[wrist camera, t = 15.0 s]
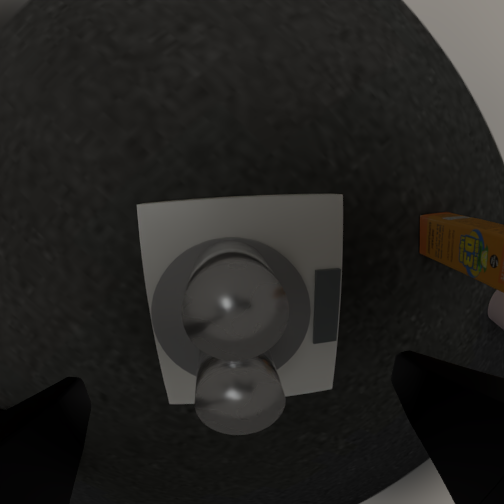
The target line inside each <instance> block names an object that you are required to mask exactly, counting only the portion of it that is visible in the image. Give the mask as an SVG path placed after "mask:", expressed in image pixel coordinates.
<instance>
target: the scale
mask: <svg viewBox="0 0 504 504" xmlns="http://www.w3.org/2000/svg"><path fill="white" fill-rule="evenodd" d="M137 214H138V225H139V236H140V245H141V254H142V262H143V270H144V277H145V284H146V291H147V298H148V304H149V310H150V316H151V321H152V327H153V332H154V337H155V342H156V347H157V352H158V357H159V362H160V366H161V370H162V375H163V379H164V383H165V387H166V391H167V395H168V399H169V403H170V404H195V390H196V378H197V366H198V355H199V348H198V347H196V345H195V344H194V343H193V342H192V341H191V340H190V338H189V337H188V335H187V333H186V331H185V329H184V326H183V322H182V313H181V312H182V304H183V299H184V296H185V292H186V289H187V285H188V282H189V278H190V275H191V271H192V268H193V265H194V262H195V261H196V259H197V257H198V256H199V255H200V253H201V252H202V251H203V250H205V249H206V248H207V247H209V246H210V245H212V244H215V243H217V242H221V241H226V240H234V241H240V242H244V243H246V244H248V245H250V246H252V247H253V248H255V249H256V250H257V251H258V252H259V253H260V254H261V255H262V257H263V258H264V260H265V261H266V263H267V264H268V266H269V267H270V269H271V270H272V272H273V273H274V275H275V276H276V278H277V280H278V281H279V283H280V284H281V286H282V287H283V289H284V291H285V293H286V296H287V299H288V303H289V318H288V323H287V326H286V329H285V331H284V333H283V335H282V336H281V337H280V339H279V340H278V341H277V342H276V344H275V345H274V346H272V347H271V348H270V352H271V355H272V358H273V361H274V364H275V367H276V370H277V373H278V376H279V379H280V382H281V385H282V388H283V391H284V394H285V396H292V395H299V394H306V393H312V392H318V391H323V390H329V389H332V385H333V377H334V369H335V360H336V350H337V339H338V328H339V315H340V300H341V281H342V254H343V194H279V195H252V196H232V197H214V198H199V199H185V200H173V201H161V202H150V203H143V204H138V205H137Z"/></svg>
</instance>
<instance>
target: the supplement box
mask: <svg viewBox="0 0 504 504" xmlns="http://www.w3.org/2000/svg"><path fill="white" fill-rule="evenodd" d="M419 253H420V254H422V255H424V256H427V257H429V258H431V259H433V260H435V261H438V262H440V263H442V264H444V265H446V266H448V267H450V268H453V269H455V270H457V271H459V272H462V273H464V274H466V275H468V276H470V277H472V278H474V279H476V280H478V281H480V282H483V283H485V284H487V285H489V286H491V287H493V288H495V289H497V290H499V291H501V292H503V293H504V225H502V224H498V223H494V222H489V221H485V220H481V219H476V218H471V217H467V216H462V215H458V214H453V213H449V212H443V213H433V214H425V215H420V249H419Z"/></svg>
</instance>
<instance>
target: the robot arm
mask: <svg viewBox="0 0 504 504" xmlns="http://www.w3.org/2000/svg"><path fill="white" fill-rule="evenodd" d="M391 381H392V384H393V386H394V388H395V391H396V393H397V395H398V397H399V399H400V402H401V404H402V406H403V408H404V411H405V413H406V415H407V417H408V419H409V421H410V423H411V425H412V427H413V428H414V430H415V432H416V434H417V435H418V437H419V439H420V440H421V442H422V444H423V446H424V447H425V449H426V451H427V453H428V455H429V456H430V458H431V460H432V462H433V463H434V465H435V467H436V469H437V470H438V473H439V474H440V476H441V478H442V480H443V482H444V484H445V485H446V487H447V489H448V491H449V493H450V495H451V496H452V499H453V501H454V502H455V504H504V378H501V377H497V376H494V375H490V374H486V373H483V372H479V371H476V370H472V369H469V368H465V367H462V366H459V365H455V364H452V363H448V362H445V361H442V360H439V359H435V358H432V357H429V356H426V355H422V354H419V353H416V352H413V351H404V352H401V353H398V354H397V355H396V357H395V361H394V366H393V370H392V375H391ZM90 411H91V400H90V398H89V395H88V393H87V390H86V387H85V385H84V382H83V381H82V379H81V378H77V377H67V378H65V379H63V380H61V381H59V382H58V383H56V384H54V385H52V386H50V387H48V388H47V389H45V390H43V391H41V392H39V393H37V394H36V395H34V396H32V397H30V398H28V399H26V400H24V401H22V402H21V403H19V404H17V405H15V406H13V407H11V408H9V409H7V410H5V411H3V410H0V504H69V503H70V498H71V494H72V490H73V486H74V482H75V478H76V474H77V470H78V467H79V463H80V459H81V456H82V452H83V448H84V443H85V437H86V432H87V426H88V421H89V416H90Z"/></svg>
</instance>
